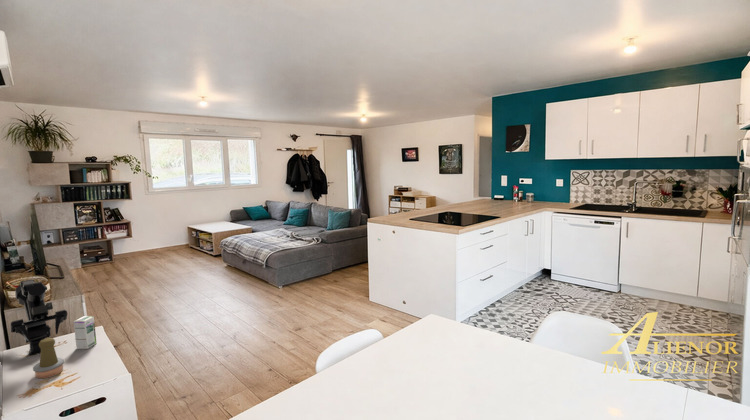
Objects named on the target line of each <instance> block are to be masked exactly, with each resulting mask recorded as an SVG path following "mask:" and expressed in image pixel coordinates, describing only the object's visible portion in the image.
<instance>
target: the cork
mask: <svg viewBox="0 0 750 420" xmlns="http://www.w3.org/2000/svg"><path fill="white" fill-rule="evenodd" d="M55 345H56V339H54V338H53V337H47V338H45V339H43V340H41V341H40V342H39V347H40V348H41V353H39V355H40V356H39V362H40V365H39V366H40V367H42V368H43V367H49V366H52V365H55V364H56V363H58V359H57V358H58V356H57V352H56V349H55Z"/></svg>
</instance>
